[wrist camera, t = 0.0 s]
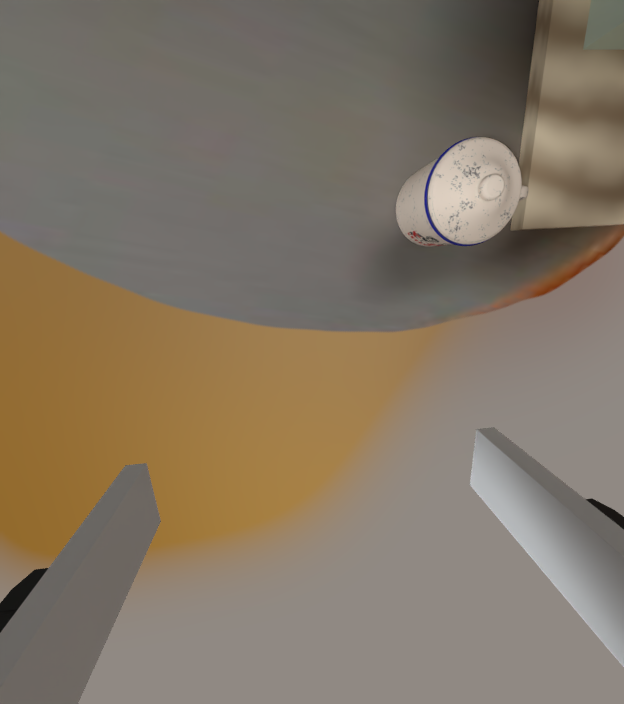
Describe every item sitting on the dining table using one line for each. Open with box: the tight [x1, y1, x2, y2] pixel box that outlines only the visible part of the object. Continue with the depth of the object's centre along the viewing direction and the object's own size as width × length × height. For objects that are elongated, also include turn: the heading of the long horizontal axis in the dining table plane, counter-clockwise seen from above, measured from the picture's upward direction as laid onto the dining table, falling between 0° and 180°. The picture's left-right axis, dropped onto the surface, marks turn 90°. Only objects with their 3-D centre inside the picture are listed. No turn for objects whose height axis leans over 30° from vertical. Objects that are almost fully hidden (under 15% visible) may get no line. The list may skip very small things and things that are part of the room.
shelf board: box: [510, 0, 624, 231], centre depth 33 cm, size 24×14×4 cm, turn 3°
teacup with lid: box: [396, 137, 529, 246], centre depth 31 cm, size 12×9×12 cm
